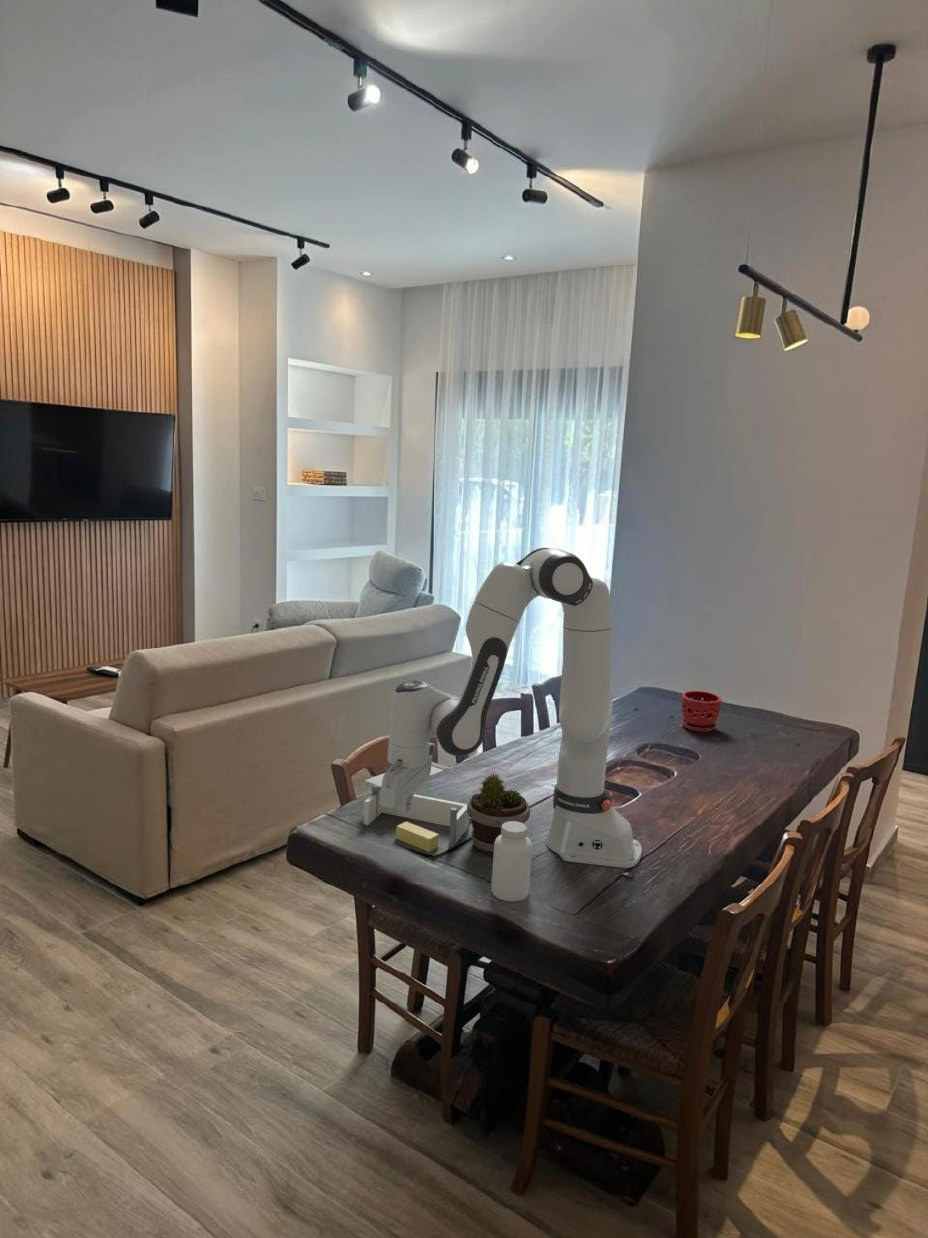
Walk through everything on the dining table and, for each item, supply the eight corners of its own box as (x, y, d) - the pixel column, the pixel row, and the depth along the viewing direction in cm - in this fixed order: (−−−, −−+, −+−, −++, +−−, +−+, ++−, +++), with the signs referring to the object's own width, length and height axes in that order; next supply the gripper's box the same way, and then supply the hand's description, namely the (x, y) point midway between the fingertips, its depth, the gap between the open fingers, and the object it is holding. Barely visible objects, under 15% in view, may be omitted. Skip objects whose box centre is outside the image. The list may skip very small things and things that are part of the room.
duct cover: (423, 763, 225) (423, 758, 225) (449, 772, 219) (449, 767, 219) (359, 786, 207) (359, 781, 207) (385, 797, 201) (385, 792, 201)
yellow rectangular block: (438, 848, 192) (438, 834, 192) (428, 853, 190) (429, 839, 189) (405, 834, 198) (406, 821, 198) (396, 839, 196) (396, 826, 195)
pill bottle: (497, 904, 169) (502, 836, 166) (486, 885, 176) (490, 819, 173) (534, 901, 171) (539, 833, 168) (521, 881, 178) (526, 816, 175)
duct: (468, 828, 203) (470, 793, 201) (453, 846, 193) (455, 810, 191) (379, 810, 211) (380, 776, 209) (360, 827, 200) (361, 792, 199)
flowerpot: (489, 826, 204) (493, 749, 200) (540, 847, 195) (546, 766, 191) (451, 846, 193) (455, 764, 189) (503, 868, 184) (509, 783, 180)
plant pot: (672, 723, 295) (675, 691, 292) (704, 721, 299) (707, 689, 296) (692, 735, 282) (696, 701, 280) (725, 733, 286) (729, 700, 284)
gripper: (401, 771, 172) (398, 833, 175) (438, 742, 191) (434, 798, 194) (374, 766, 174) (371, 827, 177) (412, 737, 193) (409, 793, 196)
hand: (404, 812), depth 186 cm, fingers closed
